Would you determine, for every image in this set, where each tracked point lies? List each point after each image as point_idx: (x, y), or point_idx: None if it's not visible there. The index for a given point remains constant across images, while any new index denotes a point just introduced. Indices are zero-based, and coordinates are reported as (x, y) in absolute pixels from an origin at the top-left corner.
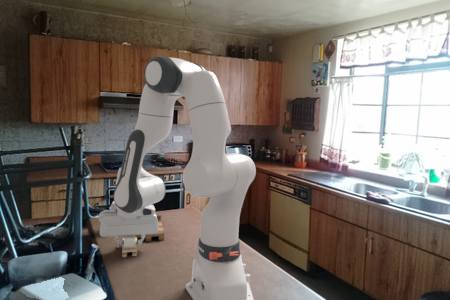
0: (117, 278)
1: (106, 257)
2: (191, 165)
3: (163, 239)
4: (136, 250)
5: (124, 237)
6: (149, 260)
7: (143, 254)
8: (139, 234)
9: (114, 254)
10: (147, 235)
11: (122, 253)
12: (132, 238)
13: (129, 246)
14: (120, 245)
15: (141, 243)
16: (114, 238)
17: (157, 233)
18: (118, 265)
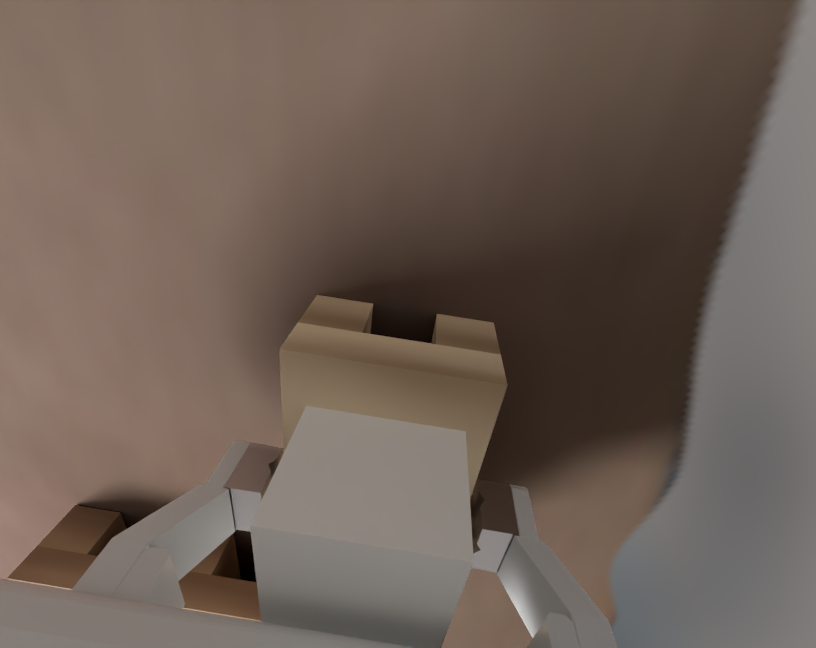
0: None
1: (665, 371)
2: None
3: (75, 512)
4: (302, 332)
5: (449, 605)
6: (145, 89)
7: (242, 303)
8: (164, 606)
9: (556, 407)
10: (187, 588)
11: (494, 345)
12: (306, 536)
13: (387, 424)
14: (490, 499)
15: (228, 462)
16: (600, 628)
17: None
18: (616, 67)
